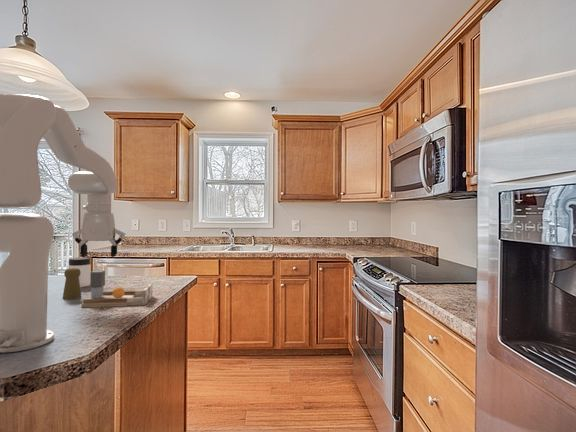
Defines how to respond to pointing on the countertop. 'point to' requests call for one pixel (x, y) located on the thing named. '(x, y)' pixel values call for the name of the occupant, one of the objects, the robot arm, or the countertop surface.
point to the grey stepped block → (97, 284)
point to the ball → (118, 292)
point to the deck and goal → (125, 300)
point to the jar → (82, 269)
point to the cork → (72, 284)
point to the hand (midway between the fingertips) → (98, 256)
